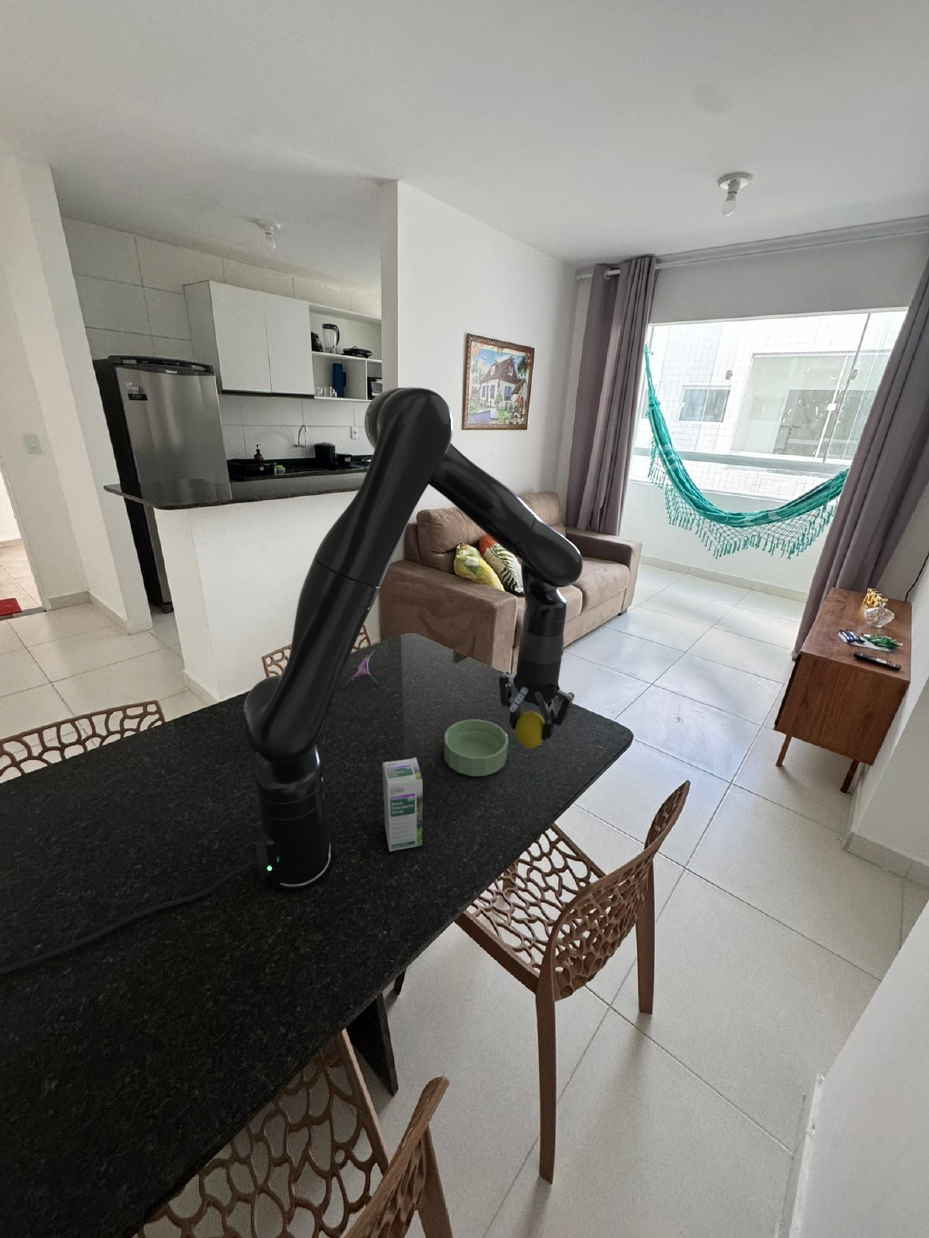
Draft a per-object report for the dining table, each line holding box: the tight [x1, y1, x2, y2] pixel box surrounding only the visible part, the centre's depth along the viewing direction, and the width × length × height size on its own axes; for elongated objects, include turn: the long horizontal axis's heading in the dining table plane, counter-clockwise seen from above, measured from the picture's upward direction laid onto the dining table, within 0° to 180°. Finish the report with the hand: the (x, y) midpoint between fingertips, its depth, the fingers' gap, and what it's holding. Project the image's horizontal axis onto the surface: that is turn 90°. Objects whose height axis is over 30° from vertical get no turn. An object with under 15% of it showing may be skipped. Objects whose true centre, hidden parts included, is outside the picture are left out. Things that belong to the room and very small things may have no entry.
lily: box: [342, 650, 379, 689], centre depth 132 cm, size 12×12×10 cm
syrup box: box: [382, 757, 423, 853], centre depth 86 cm, size 6×6×14 cm
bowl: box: [443, 718, 509, 777], centre depth 107 cm, size 13×13×5 cm
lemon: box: [514, 710, 545, 749], centre depth 95 cm, size 6×6×8 cm
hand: (530, 732), depth 95 cm, fingers closed on lemon, 5 cm apart
